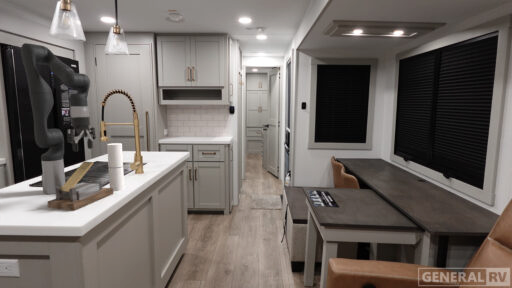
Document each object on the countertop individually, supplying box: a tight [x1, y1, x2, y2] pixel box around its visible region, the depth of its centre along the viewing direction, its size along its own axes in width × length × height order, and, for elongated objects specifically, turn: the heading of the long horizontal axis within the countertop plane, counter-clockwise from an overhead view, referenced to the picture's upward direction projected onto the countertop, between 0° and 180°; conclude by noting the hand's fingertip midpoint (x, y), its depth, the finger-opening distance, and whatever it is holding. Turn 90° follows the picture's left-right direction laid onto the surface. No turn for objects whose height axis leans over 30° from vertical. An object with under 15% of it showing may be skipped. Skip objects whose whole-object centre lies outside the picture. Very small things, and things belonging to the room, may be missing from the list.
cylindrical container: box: [106, 142, 125, 192], centre depth 153 cm, size 7×7×25 cm
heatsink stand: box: [47, 180, 114, 212], centre depth 135 cm, size 14×24×9 cm, turn 168°
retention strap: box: [59, 161, 94, 192], centre depth 132 cm, size 5×18×2 cm
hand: (83, 149), depth 135 cm, fingers open, 8 cm apart
